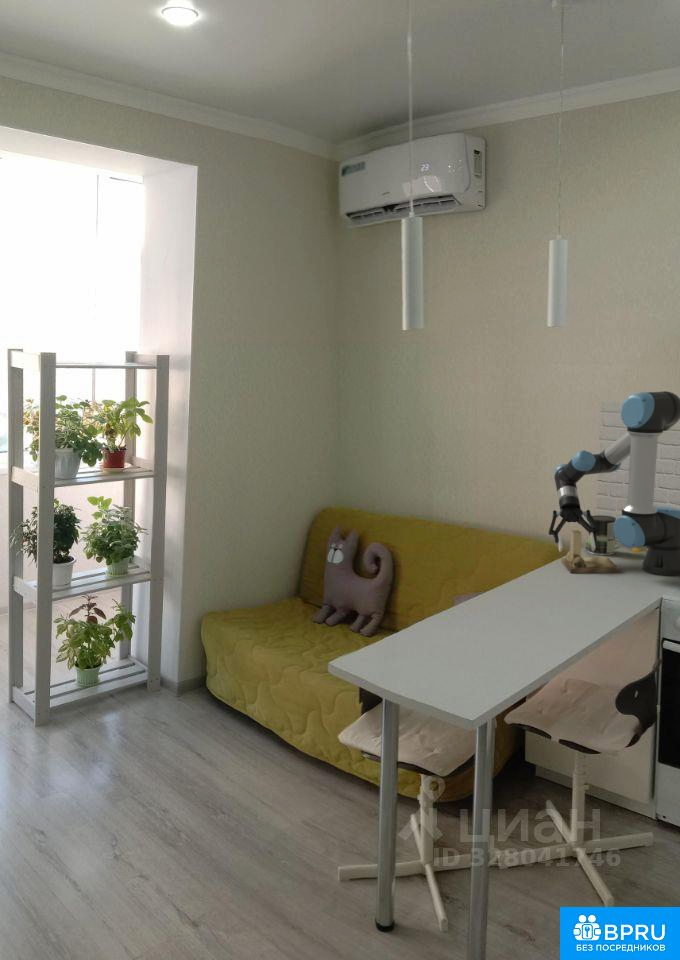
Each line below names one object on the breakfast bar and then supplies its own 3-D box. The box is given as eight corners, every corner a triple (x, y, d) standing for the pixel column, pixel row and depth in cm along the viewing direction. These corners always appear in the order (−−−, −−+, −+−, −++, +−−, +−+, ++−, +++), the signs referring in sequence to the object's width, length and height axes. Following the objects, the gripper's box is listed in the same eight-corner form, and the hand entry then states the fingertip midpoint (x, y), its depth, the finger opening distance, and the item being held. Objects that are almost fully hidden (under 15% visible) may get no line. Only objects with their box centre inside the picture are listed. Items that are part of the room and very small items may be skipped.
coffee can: (594, 556, 318) (594, 520, 316) (583, 550, 328) (584, 515, 326) (619, 554, 319) (620, 519, 317) (608, 549, 329) (608, 514, 327)
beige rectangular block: (579, 561, 304) (579, 530, 302) (582, 565, 299) (583, 533, 297) (568, 561, 304) (568, 530, 303) (571, 565, 299) (571, 533, 298)
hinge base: (608, 561, 309) (608, 548, 308) (619, 572, 293) (620, 558, 292) (561, 562, 310) (561, 549, 309) (570, 573, 294) (570, 559, 293)
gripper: (598, 505, 313) (608, 554, 300) (536, 506, 315) (543, 555, 302) (602, 494, 307) (612, 543, 294) (538, 495, 309) (546, 544, 296)
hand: (577, 549), depth 298 cm, fingers open, 11 cm apart
